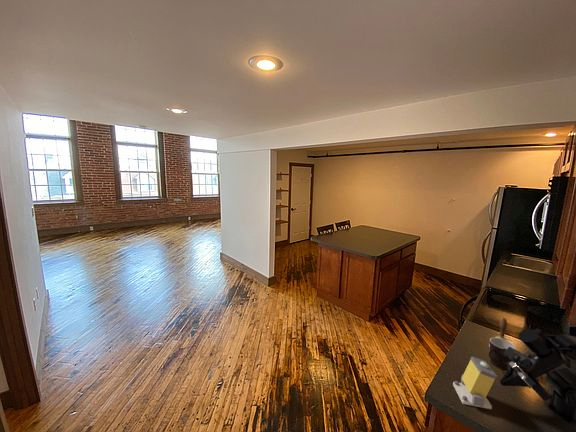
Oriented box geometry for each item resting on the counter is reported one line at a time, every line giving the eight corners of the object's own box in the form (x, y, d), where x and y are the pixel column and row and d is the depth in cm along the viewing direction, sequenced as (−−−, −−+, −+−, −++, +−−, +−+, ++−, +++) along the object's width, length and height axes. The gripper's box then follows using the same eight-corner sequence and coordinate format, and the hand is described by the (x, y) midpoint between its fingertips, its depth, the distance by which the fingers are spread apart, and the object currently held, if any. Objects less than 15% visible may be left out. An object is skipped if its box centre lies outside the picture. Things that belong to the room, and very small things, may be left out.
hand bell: (508, 347, 122) (512, 316, 120) (513, 357, 115) (517, 325, 113) (487, 341, 126) (491, 312, 124) (490, 351, 119) (494, 319, 117)
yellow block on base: (473, 386, 97) (486, 359, 94) (483, 403, 90) (498, 374, 87) (459, 381, 98) (472, 354, 95) (468, 397, 91) (482, 368, 88)
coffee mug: (502, 358, 114) (505, 338, 113) (517, 372, 106) (521, 350, 104) (475, 356, 115) (477, 336, 114) (488, 370, 107) (491, 349, 105)
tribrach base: (477, 387, 98) (479, 377, 97) (492, 411, 88) (494, 400, 87) (452, 382, 100) (453, 373, 99) (463, 405, 90) (464, 394, 89)
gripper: (508, 329, 96) (472, 350, 100) (544, 362, 78) (499, 387, 82) (530, 351, 95) (493, 371, 100) (571, 390, 77) (524, 413, 82)
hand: (500, 383), depth 91 cm, fingers closed
